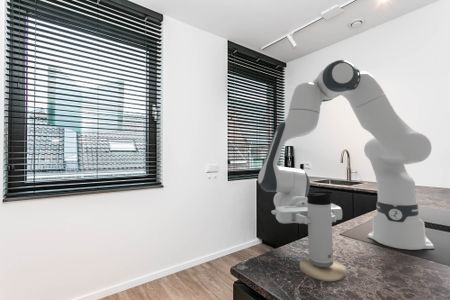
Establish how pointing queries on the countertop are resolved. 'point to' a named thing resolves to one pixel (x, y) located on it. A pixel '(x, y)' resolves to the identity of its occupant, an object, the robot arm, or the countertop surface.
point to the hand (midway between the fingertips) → (321, 220)
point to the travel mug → (320, 228)
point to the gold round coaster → (323, 270)
